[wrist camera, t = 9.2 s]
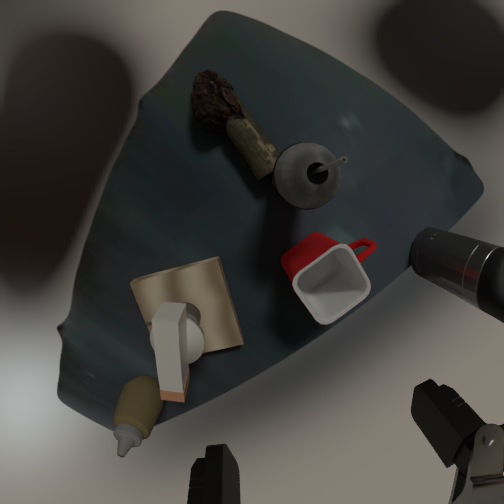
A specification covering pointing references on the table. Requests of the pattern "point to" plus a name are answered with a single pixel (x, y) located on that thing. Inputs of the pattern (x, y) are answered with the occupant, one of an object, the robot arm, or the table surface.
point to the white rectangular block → (175, 348)
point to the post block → (193, 300)
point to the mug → (328, 275)
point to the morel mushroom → (232, 121)
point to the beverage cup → (307, 175)
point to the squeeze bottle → (136, 412)
